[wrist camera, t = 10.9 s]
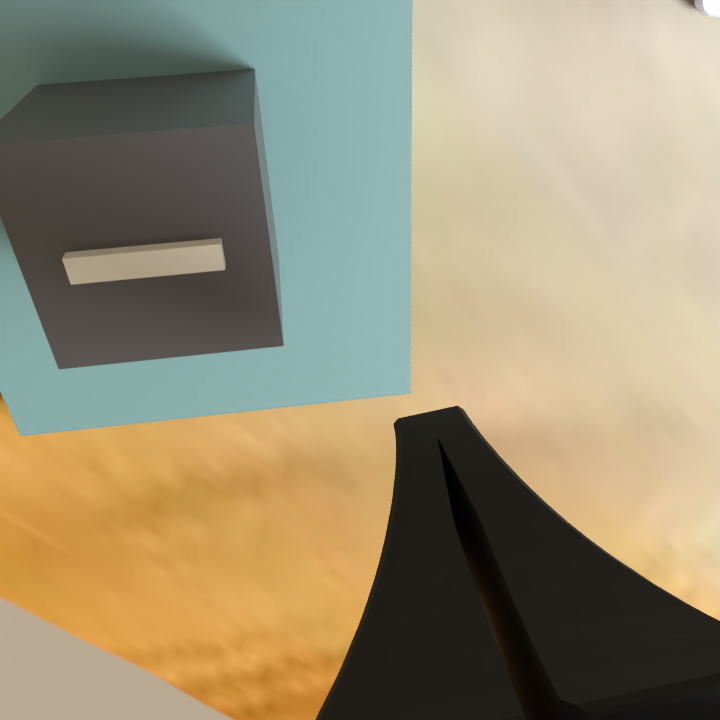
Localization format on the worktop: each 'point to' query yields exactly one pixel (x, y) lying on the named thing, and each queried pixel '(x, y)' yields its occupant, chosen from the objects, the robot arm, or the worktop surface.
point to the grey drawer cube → (143, 216)
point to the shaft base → (288, 193)
